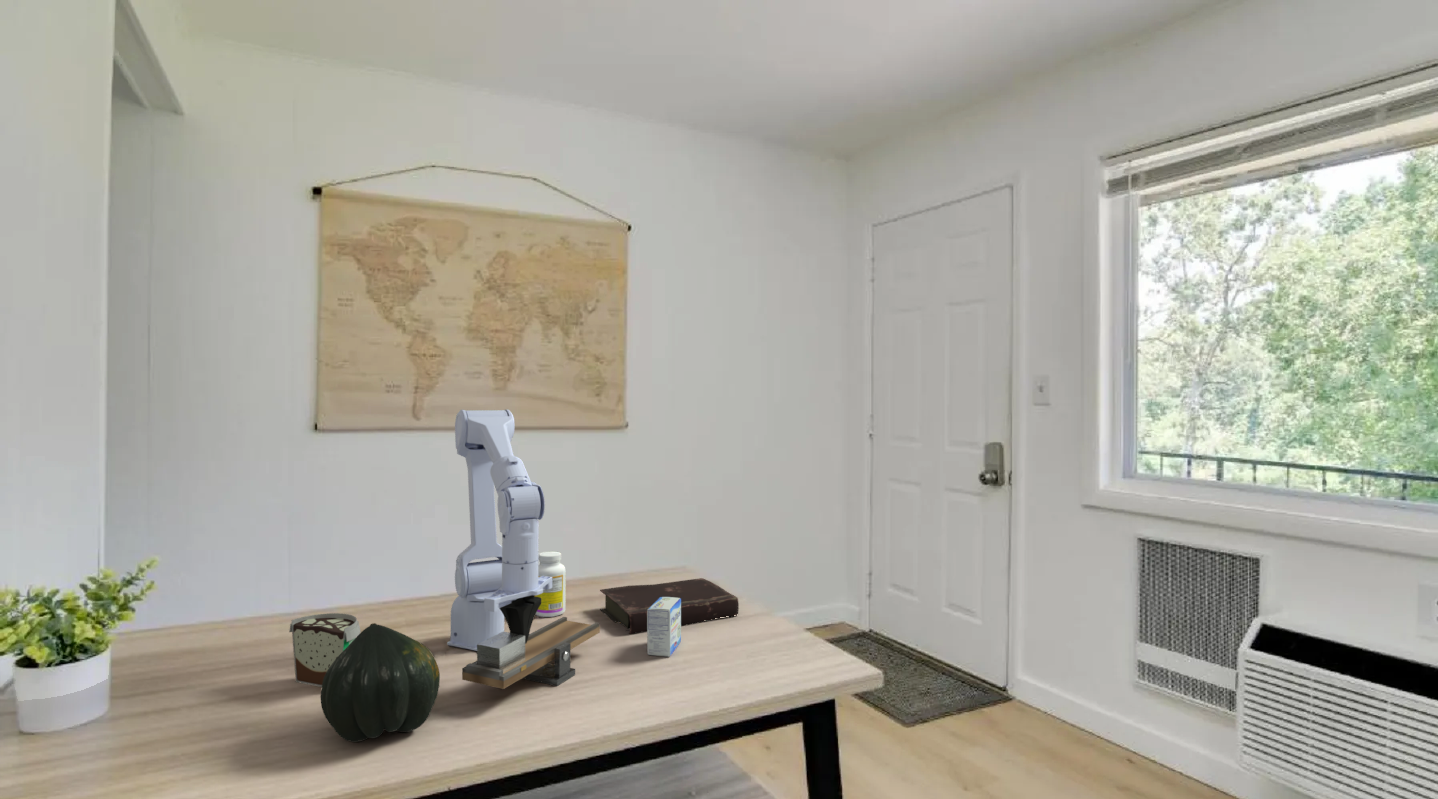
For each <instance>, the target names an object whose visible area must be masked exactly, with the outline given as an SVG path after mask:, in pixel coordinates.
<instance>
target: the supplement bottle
mask: <svg viewBox="0 0 1438 799" xmlns="http://www.w3.org/2000/svg"><path fill="white" fill-rule="evenodd" d="M561 560H562V553H561V552H559V551H553V550H552V551H543V552H539V558H538V562H539V564H538V577H541V576H548V577H552V588H551V589H544V590H543V593H541V594H539V595H534V596H535V597H540V598H541V605H540V606H539V608H538V610H537V612H536V614H535V616H537V617H542V618H553V617H554V618H555V617H559V616H560V615H562V614H564V613H565V612H566V603H567V602H566V600H567V598H566V594H567V593H566V592H567V590H566V589H567V586H566V584H567V582H566V581H567V578H566V577H567V575H566V574H567V572H566V570H567V569H566V567H565V565H564V564H563V563H561Z"/></svg>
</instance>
